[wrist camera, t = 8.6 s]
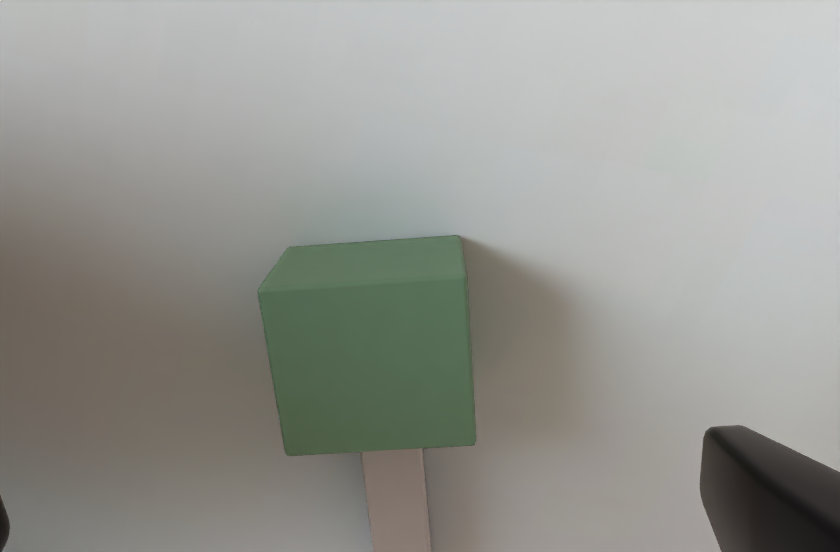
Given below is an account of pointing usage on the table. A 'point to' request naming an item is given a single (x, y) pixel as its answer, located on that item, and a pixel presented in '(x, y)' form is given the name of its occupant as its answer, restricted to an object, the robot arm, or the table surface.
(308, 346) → the green mallet
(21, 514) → the table surface
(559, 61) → the table surface
